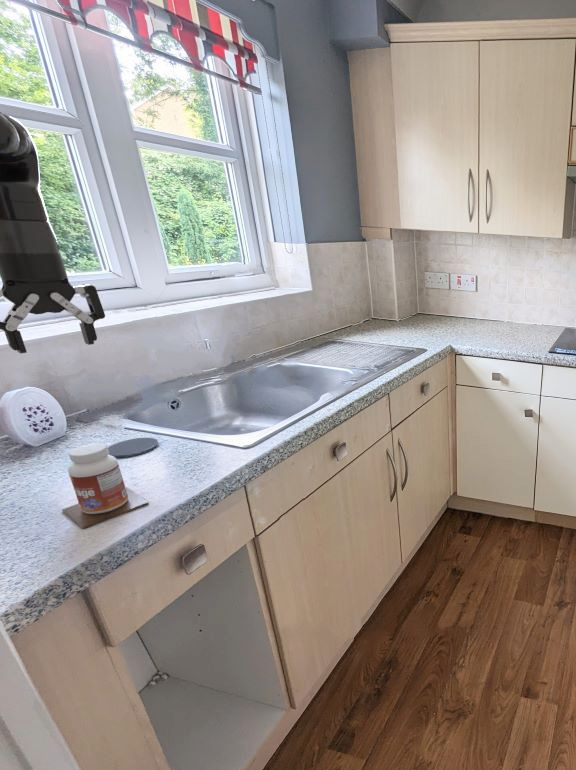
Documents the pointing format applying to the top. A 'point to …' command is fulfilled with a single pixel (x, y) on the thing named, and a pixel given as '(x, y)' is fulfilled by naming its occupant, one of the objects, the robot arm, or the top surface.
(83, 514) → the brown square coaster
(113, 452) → the plate
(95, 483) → the pill bottle
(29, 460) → the top surface
